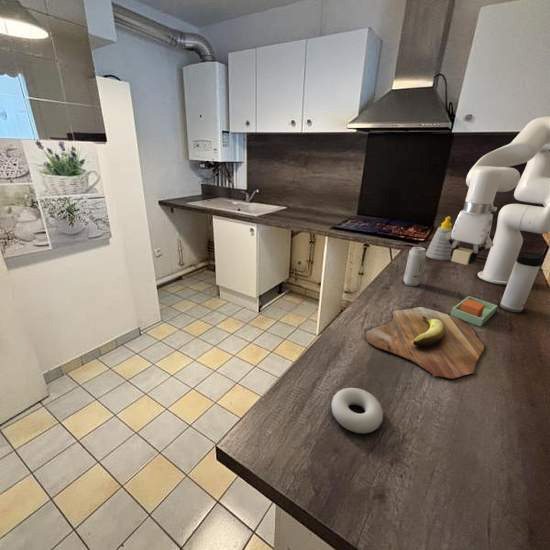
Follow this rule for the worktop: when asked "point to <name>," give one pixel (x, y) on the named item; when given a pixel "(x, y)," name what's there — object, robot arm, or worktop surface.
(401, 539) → the worktop surface
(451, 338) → the cutting board
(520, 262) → the travel mug
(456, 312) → the tray
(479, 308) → the orange block
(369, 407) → the donut
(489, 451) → the worktop surface
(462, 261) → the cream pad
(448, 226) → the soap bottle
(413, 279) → the energy drink can
